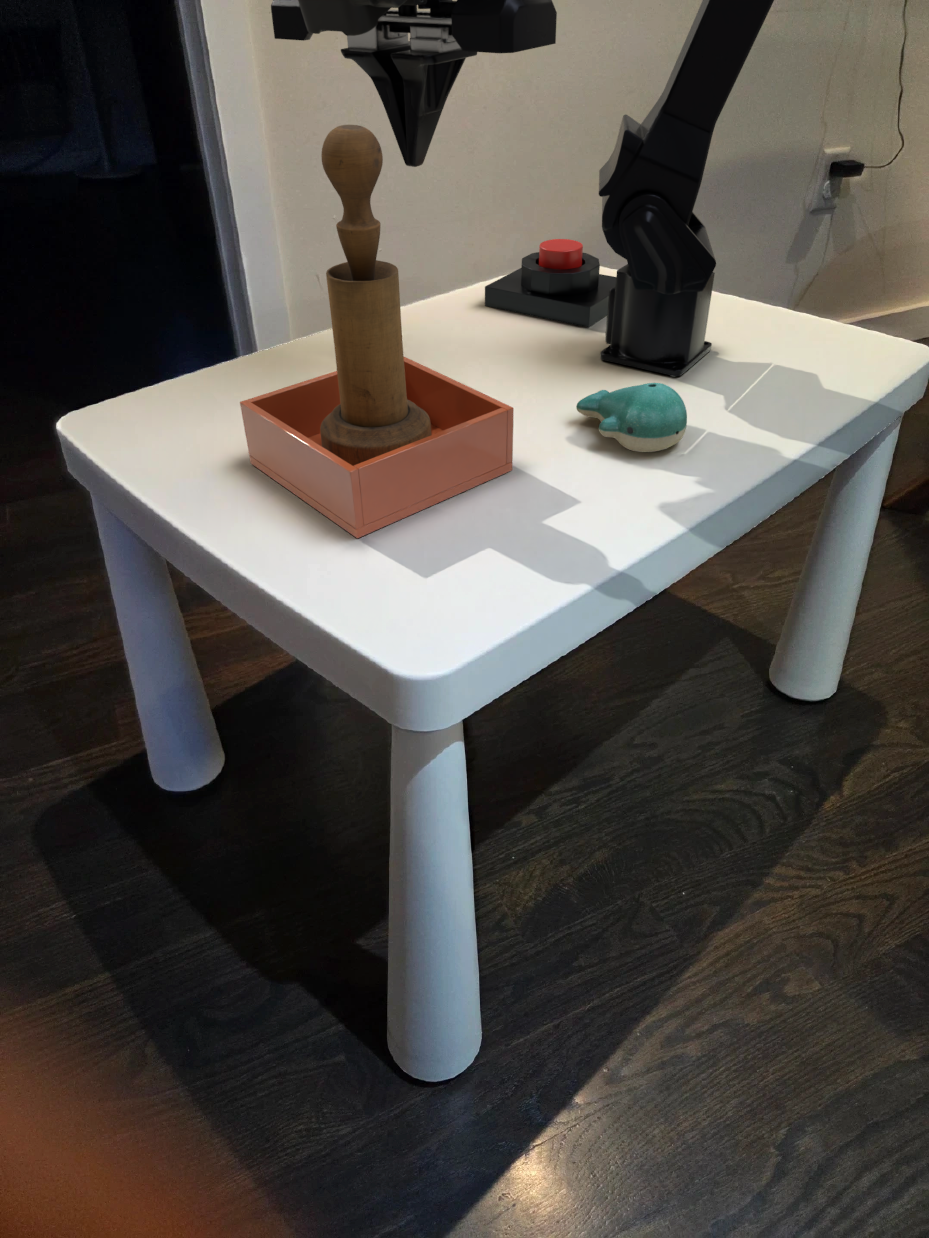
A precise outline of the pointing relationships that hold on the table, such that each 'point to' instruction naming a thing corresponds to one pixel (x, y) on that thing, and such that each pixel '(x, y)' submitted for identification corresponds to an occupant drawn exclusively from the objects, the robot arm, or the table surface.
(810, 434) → the table surface
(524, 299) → the control block
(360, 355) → the mortar and pestle
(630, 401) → the whale figurine
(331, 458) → the orange square tray
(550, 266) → the button
